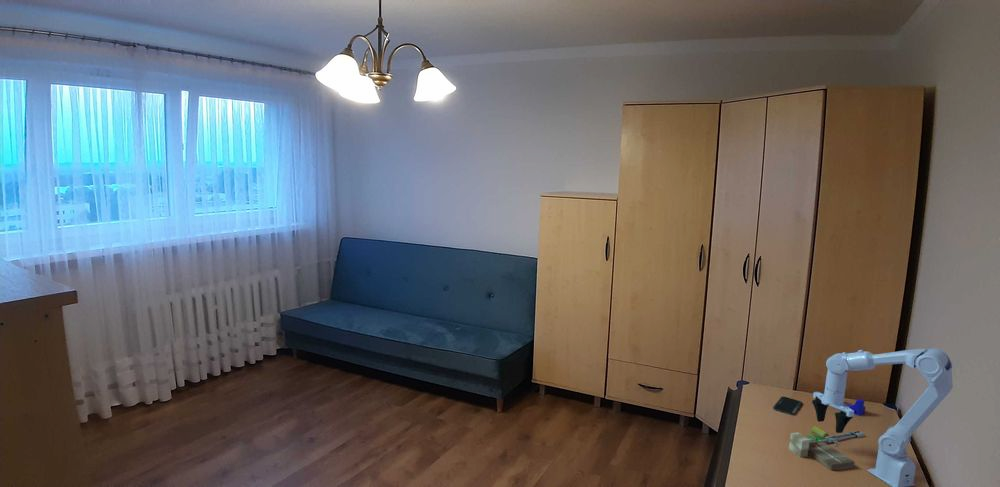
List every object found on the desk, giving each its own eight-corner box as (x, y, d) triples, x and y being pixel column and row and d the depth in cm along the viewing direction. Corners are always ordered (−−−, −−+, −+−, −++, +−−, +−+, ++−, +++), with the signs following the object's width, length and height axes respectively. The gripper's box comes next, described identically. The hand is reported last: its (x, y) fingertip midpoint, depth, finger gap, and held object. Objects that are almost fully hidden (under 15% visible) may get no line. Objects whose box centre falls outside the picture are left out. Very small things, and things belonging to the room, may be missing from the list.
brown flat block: (853, 467, 171) (854, 461, 171) (831, 470, 169) (831, 464, 169) (821, 446, 184) (822, 440, 184) (799, 448, 182) (800, 442, 182)
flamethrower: (785, 436, 189) (810, 452, 180) (787, 430, 189) (811, 445, 180) (843, 426, 200) (869, 441, 191) (844, 420, 199) (870, 434, 190)
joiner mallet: (821, 454, 179) (823, 438, 178) (800, 457, 177) (802, 440, 176) (809, 446, 183) (811, 430, 182) (788, 449, 181) (790, 433, 180)
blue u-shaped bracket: (864, 413, 210) (866, 399, 209) (858, 416, 208) (860, 401, 207) (833, 401, 220) (835, 387, 220) (827, 403, 218) (829, 389, 217)
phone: (803, 401, 217) (794, 414, 206) (802, 404, 217) (793, 416, 206) (782, 395, 222) (772, 407, 211) (781, 398, 222) (771, 410, 211)
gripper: (807, 380, 183) (803, 417, 185) (843, 399, 169) (837, 438, 171) (824, 379, 184) (819, 415, 186) (861, 397, 170) (855, 436, 172)
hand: (829, 426), depth 179 cm, fingers open, 7 cm apart
